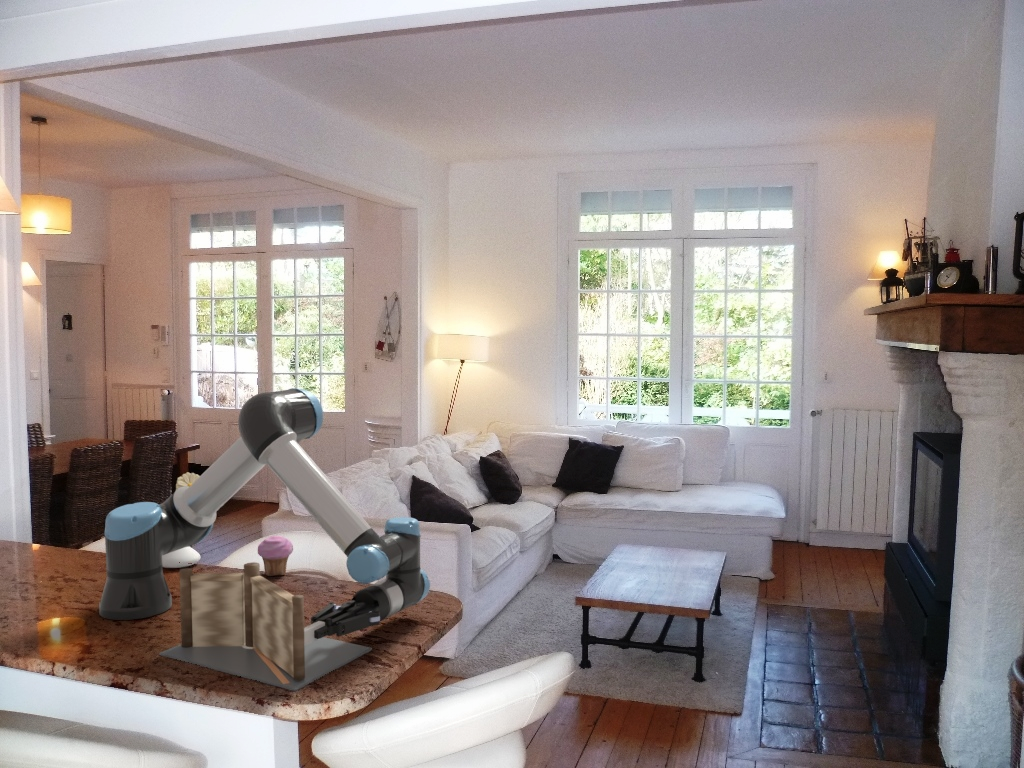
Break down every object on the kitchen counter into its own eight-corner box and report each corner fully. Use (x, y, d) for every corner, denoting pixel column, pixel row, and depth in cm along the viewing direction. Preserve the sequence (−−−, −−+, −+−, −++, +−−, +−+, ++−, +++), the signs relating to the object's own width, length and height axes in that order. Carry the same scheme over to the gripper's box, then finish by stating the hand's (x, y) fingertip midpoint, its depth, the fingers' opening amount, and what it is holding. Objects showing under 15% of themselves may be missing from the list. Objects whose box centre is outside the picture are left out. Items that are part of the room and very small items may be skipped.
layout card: (159, 654, 170) (159, 652, 170) (243, 620, 189) (243, 618, 189) (295, 691, 153) (295, 688, 153) (372, 649, 172) (371, 647, 172)
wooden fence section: (179, 648, 172) (177, 567, 171) (184, 642, 175) (182, 562, 174) (258, 647, 173) (257, 566, 171) (262, 641, 176) (261, 562, 174)
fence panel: (251, 646, 172) (250, 572, 171) (261, 644, 173) (260, 570, 172) (296, 681, 155) (295, 599, 154) (306, 678, 157) (305, 597, 156)
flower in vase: (155, 573, 224) (153, 478, 223) (154, 562, 235) (152, 471, 233) (209, 568, 230) (206, 474, 228) (205, 557, 240) (203, 468, 238)
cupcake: (257, 580, 219) (257, 541, 218) (258, 570, 227) (257, 533, 227) (294, 577, 221) (293, 538, 221) (293, 568, 230) (292, 531, 229)
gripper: (402, 625, 177) (326, 665, 157) (351, 615, 184) (272, 652, 163) (402, 589, 177) (326, 625, 156) (351, 580, 183) (271, 613, 162)
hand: (298, 639), depth 159 cm, fingers closed
